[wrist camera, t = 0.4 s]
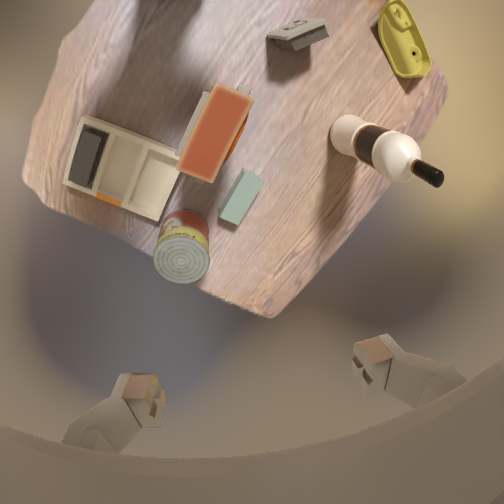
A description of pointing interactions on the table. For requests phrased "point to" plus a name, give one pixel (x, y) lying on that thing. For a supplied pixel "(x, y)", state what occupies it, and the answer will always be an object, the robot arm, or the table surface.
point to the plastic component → (403, 41)
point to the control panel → (213, 131)
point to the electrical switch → (300, 33)
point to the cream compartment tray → (128, 169)
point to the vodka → (382, 150)
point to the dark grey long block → (88, 156)
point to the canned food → (182, 247)
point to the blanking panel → (240, 196)
